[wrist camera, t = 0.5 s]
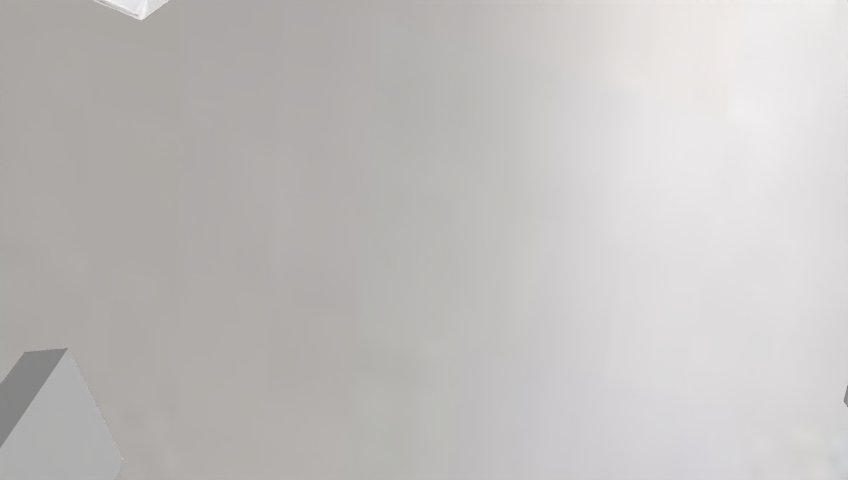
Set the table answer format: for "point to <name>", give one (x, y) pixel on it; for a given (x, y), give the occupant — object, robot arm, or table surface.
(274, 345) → the table surface
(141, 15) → the ink box
